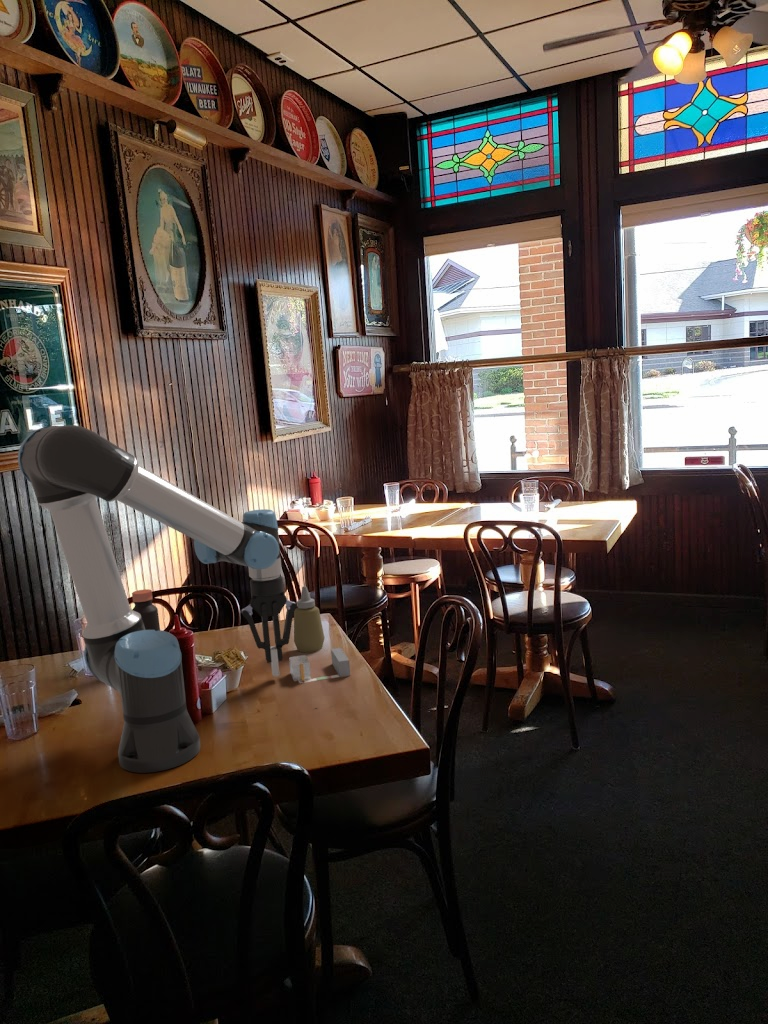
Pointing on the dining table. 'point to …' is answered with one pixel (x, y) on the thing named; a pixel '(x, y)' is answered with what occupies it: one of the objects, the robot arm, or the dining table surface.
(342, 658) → the rail
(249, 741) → the dining table surface
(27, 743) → the dining table surface
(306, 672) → the gauge carriage
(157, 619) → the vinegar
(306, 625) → the squeeze bottle
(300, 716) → the dining table surface
